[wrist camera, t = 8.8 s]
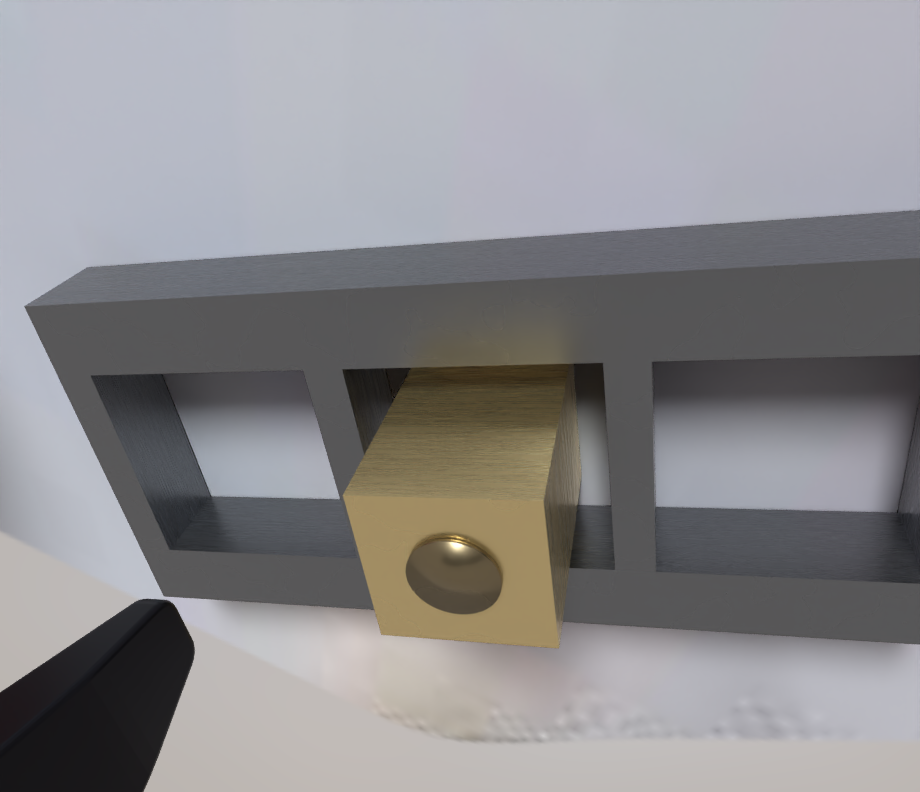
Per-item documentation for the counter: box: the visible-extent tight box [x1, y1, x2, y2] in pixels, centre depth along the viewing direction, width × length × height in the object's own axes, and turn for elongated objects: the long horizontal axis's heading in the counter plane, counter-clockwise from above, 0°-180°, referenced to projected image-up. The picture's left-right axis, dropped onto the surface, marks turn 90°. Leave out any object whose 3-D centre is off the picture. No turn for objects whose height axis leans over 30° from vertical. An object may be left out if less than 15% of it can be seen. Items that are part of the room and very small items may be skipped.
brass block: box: [343, 364, 581, 648], centre depth 18 cm, size 4×4×6 cm
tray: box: [24, 210, 920, 644], centre depth 19 cm, size 22×10×2 cm, turn 97°
